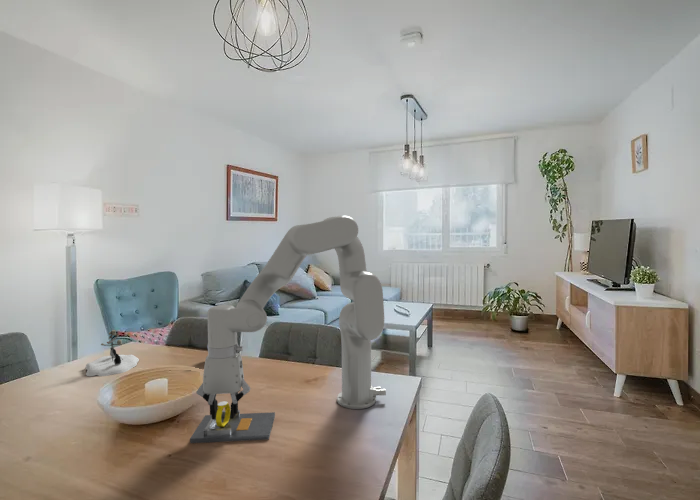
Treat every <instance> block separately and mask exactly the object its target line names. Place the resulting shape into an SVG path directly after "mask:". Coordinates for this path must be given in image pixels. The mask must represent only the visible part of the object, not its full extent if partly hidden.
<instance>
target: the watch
mask: <svg viewBox="0 0 700 500" xmlns="http://www.w3.org/2000/svg"><path fill="white" fill-rule="evenodd" d="M217 405H218V410H217V414H216V423H217V426H218V427H224V426H225V425H226V424H227V423H228V422H229V418H230V410H231V405H230V404H229V402H228V401H227V400H226V401H225V400H223V401H219V402H218V404H217ZM222 411H225V418H224V421H223V423H222V421H221V415H222Z"/></svg>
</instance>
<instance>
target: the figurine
mask: <svg viewBox="0 0 700 500" xmlns="http://www.w3.org/2000/svg"><path fill="white" fill-rule="evenodd" d="M108 335H109V337H108V340H109V341H106V343H107V344H104V343H101V344H100V346H104V347H110V348H109V349H110V352H109V355H106V356H105V355H103V356H101V357H98V358H97V359H95V360H93V361H90V362H88V363H86V364H85V368H84V369H86V370H87V371H86V373H85V375H86V377H94V376H99V377H107V376H112V375H118V374H123V373H126V372H128V371H129V370H132V369H133V368H134V367H137V365H138V363H139V360H140V359H139V358H138V357H137V356H135V355H133V354H118V353H117V350H116V349H115V347H114V346H122V345H123V342H122V341H123V340H122V339H118V340H117V341H115V340H116V339H117V338H118V337H119V334H118V333H117V331H116V329H112V330H111V331H109V332H108ZM113 336H115V337H113Z"/></svg>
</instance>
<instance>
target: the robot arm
mask: <svg viewBox="0 0 700 500" xmlns="http://www.w3.org/2000/svg"><path fill="white" fill-rule="evenodd" d="M358 234H359V226H358V224H357V222H356V221H355V219H354V218H353V217H351V216H348V215H338V216H330V217H327V218H324V219H323V220H321V221H316V222H311V223H306V224H305V223H304V224H297V225H294V226H292V227H291V228H290V229H288V230H287V231H286V233H285V234H284V236H283V238H282V239H281V240H280V243H279V244H278V245H277V247H276V249H275V250H274V252H273V254H272V255H271V256H270V258H269V259H268V261H267V262H266V265H264V267H263V268H262V269H261V270H260V271H259V272H258V274H257V276H256V277H254V279H253V280H252V282H251V283H250V284H249V286H248V287H247V289H246V290H245V292H244V293H243V295H242V296H241V298H240V299H239V301H238V302H237V304H236V307H235V306H234V305H231V304H219V305H215V306H212V307H210V308H208V311H207V345H208V349H207V352H208V353H207V356H206V357H205V362H204V367H203V368H204V369H203V375H202V376H203V377H202V383H201V385H200V386H199V388H197V390H196V391H195V392H196V394H197V395H198V396H199V397H202V398H203V399H204V400H205V401H206V402H207V405H209V415H212V419H215V418H216V414H217V410H218V405H217V404H218V403H219V402H218V400H217V399H216V397H217V395H222V394H223V395H224V394H227V395H228V394H230V398H231V403H230V410H231V418H232V419H233V418H234V417H235V415H236V414H237V413H238V410H239V401H240V400H241V399H242V398H243V397H244V396H245V395H247V394H248V393H249V392H250V391H251V387H250V385H249V384H248V383H247V381H246V380H245V374H244V365H243V357H242V354H241V353H240V352H243V346H242V345H239V343H238V333H255V332H259V331H261V330H262V329H263V328H264V327H265V326H266V324H267V320H268V315H267V312H266V311H265V309H264V308H265V307H266V305H267V303H268V301H269V300H271V298H272V297H273V295H274V294H275V293H276V292H277V291H278V290H280V289H281V288H284V286H285V287H286V285H288V284H289V283H290V282H291V281H292V280H293V278H294V277H295V274H296V273H297V272H298V270H299V268H300V267H301V265H302V263H304V260H305V258H306V257H307V256H308V255H314V254H320V253H323V252H327V251H330V250H334V251H335V252H336V255H337V259H338V267H339V268H338V270H339V285H340V292H341V293H342V295H343V296H344V297H345V298H348V299H349V300H352V301H353V302H349V303H347V304H345V305H344V306H343V307H342V308H341V310H340V312H339V317H338V324H339V331H340V339H341V391H340V392H339V393H338V394H337V397H336V402H337V403H338V405H340V406H341V407H343V408H346V409H351V410H363V409H366V408H369V407H372V406H373V405H375V403H376V401H377V396H386V395H387V394H386V393H387V391H386V388H382V387H381V386H373V385H372V341H373V340H375V339H378V338H379V337H380V336H381V335H382V332H383V330H384V328H385V308H384V307H385V305H384V304H385V303H384V292H383V291H384V290H383V286H382V282H381V281H380V279H379V278H378V276H376V275H375V274H374V273H373V272H368V271H367V264H366V257H365V250H364V247H363V243H362V241H361V240H360V238H359V236H358Z"/></svg>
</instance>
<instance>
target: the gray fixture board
mask: <svg viewBox="0 0 700 500" xmlns="http://www.w3.org/2000/svg"><path fill="white" fill-rule="evenodd" d="M224 418H225V410H222V415H221V421H222V423H223V421H224ZM275 418H276V412H275V411H274V412H272V411H271V412H253V413H252V412H251V413H248V412H247V413H241V410H240V409H238V413H237V414H236V415H235V417H234V418H233V419H232V418H231V409H230V418H229V422H228V423H227V424H226V425H225V426H224V427H218V426H217V423H216V418H215V419H212V415H210V414H205V415H204V417H203V418H202V420H201V422H200V423H199V424H198V425H197V427H196V429H195V430H194V431H193V433H192V435H191V437H190V438H189V443H190V444H203V443H205V444H207V443H222V442H223V443H225V442H228V443H229V442H245V441H264V440H265V441H268V440H270V436H271V433H272V429H273V425H274V421H275Z"/></svg>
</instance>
